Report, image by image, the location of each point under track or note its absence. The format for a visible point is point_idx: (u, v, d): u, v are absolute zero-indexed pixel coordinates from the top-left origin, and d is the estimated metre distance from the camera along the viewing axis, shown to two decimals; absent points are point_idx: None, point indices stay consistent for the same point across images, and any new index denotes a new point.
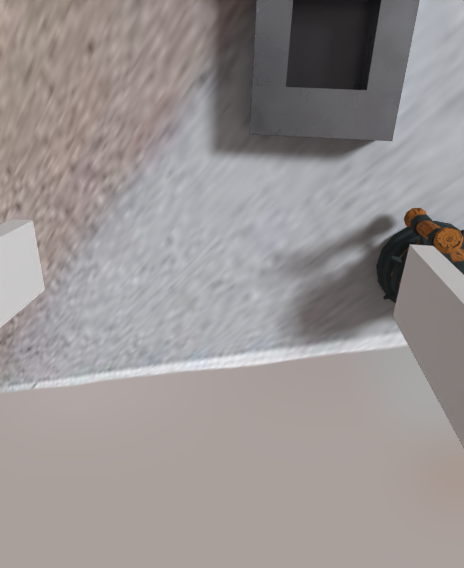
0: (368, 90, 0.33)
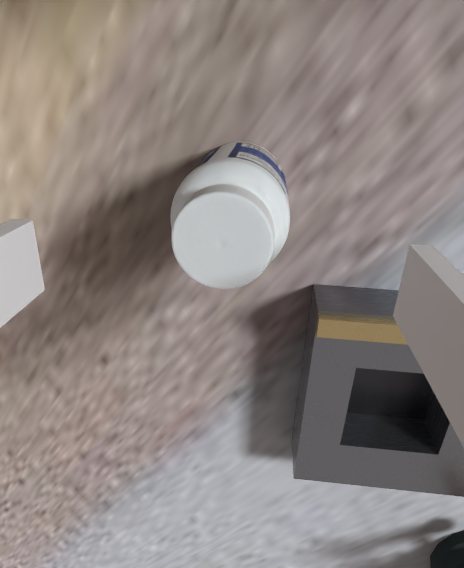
0: (440, 454, 0.27)
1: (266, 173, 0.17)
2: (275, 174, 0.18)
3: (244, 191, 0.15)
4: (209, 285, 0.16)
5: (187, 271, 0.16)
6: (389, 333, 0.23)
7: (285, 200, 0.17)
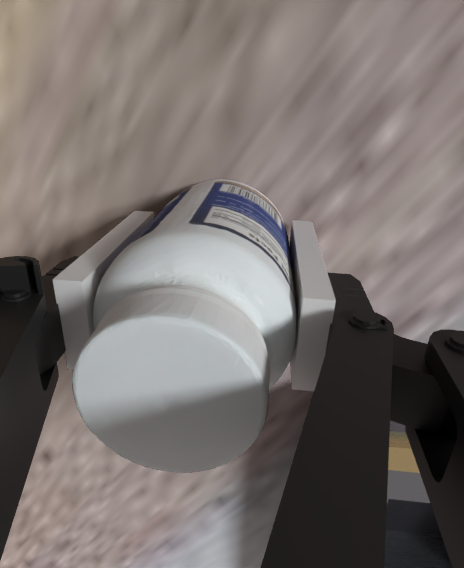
0: None
1: (255, 254, 0.10)
2: (272, 247, 0.11)
3: (211, 305, 0.08)
4: (150, 466, 0.09)
5: (108, 444, 0.09)
6: None
7: (289, 299, 0.10)
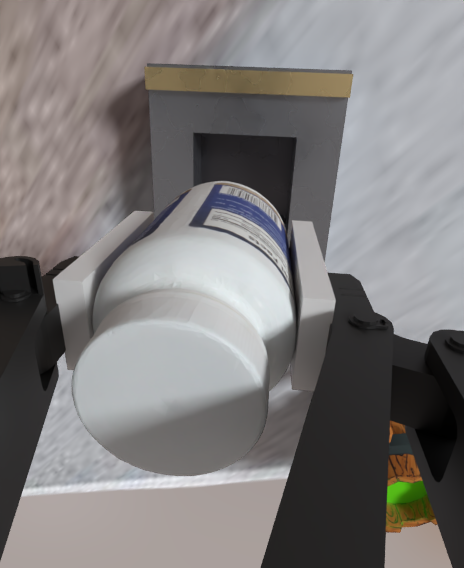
0: (289, 237, 0.28)
1: (255, 257, 0.10)
2: (272, 249, 0.11)
3: (211, 308, 0.08)
4: (149, 470, 0.09)
5: (107, 447, 0.09)
6: (212, 79, 0.24)
7: (289, 302, 0.10)
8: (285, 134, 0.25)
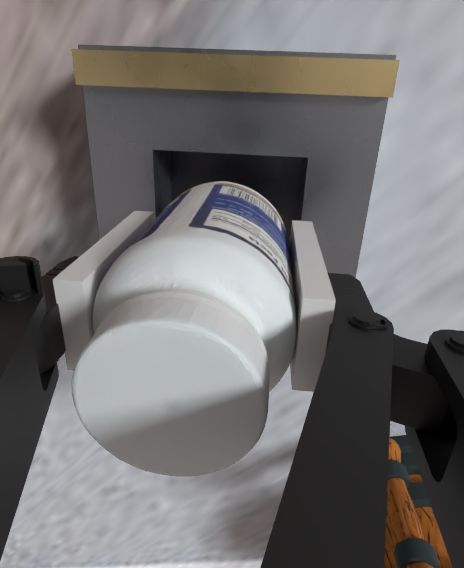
0: None
1: (255, 258, 0.10)
2: (272, 250, 0.11)
3: (211, 309, 0.08)
4: (149, 470, 0.09)
5: (107, 447, 0.09)
6: (177, 69, 0.15)
7: (289, 302, 0.10)
8: (290, 153, 0.17)
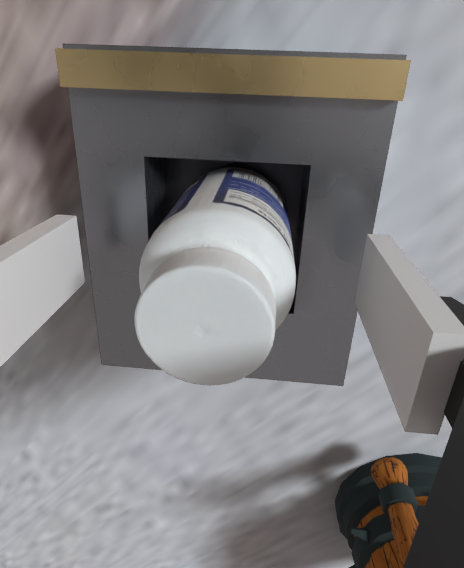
0: (297, 314, 0.18)
1: (264, 225, 0.13)
2: (276, 220, 0.14)
3: (234, 260, 0.11)
4: (189, 380, 0.12)
5: (158, 363, 0.12)
6: (169, 70, 0.14)
7: (290, 259, 0.13)
8: (292, 160, 0.15)
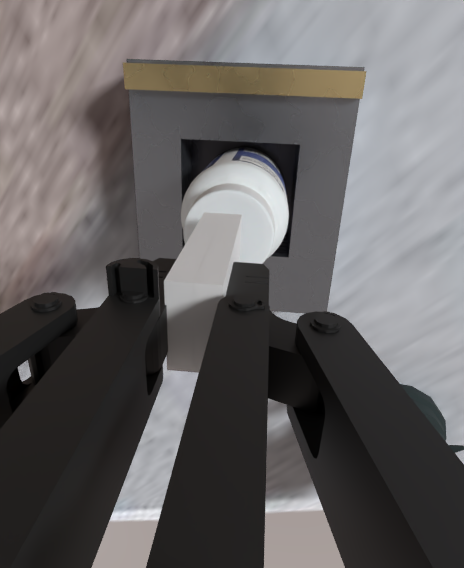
0: (290, 257, 0.25)
1: (266, 174, 0.19)
2: (274, 175, 0.20)
3: (247, 189, 0.17)
4: None
5: None
6: (201, 78, 0.20)
7: (284, 198, 0.19)
8: (286, 141, 0.22)
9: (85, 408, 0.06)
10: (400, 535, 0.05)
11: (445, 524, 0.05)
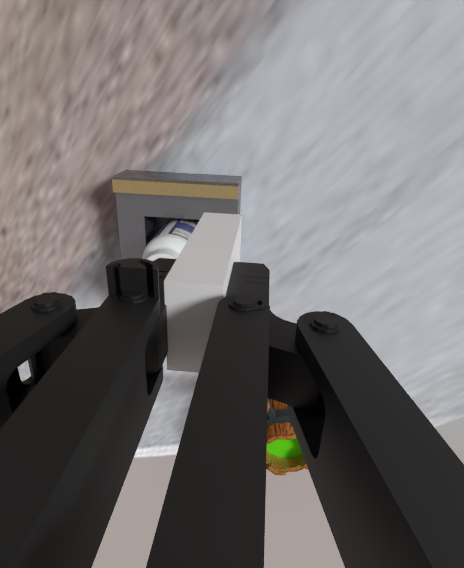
0: None
1: (185, 241, 0.37)
2: None
3: (171, 252, 0.35)
4: None
5: None
6: (153, 187, 0.38)
7: None
8: None
9: (85, 408, 0.06)
10: (400, 535, 0.05)
11: (445, 524, 0.05)
